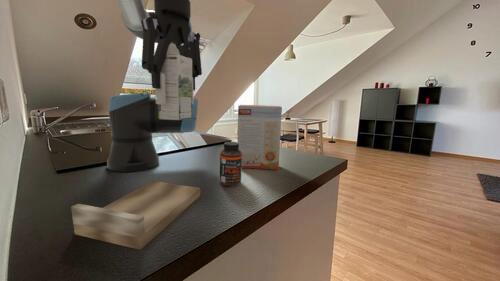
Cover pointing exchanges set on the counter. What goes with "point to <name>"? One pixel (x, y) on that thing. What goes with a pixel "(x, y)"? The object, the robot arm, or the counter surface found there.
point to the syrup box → (177, 88)
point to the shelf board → (134, 214)
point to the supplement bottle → (230, 164)
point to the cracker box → (259, 136)
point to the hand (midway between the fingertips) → (175, 103)
